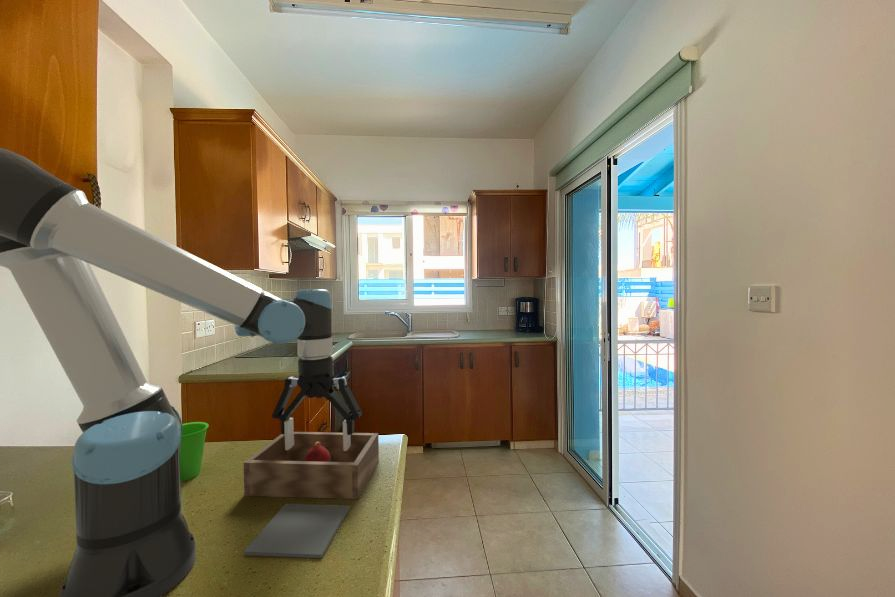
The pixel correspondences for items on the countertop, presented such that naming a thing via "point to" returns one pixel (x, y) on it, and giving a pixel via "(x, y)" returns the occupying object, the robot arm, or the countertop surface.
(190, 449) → the cup
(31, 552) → the countertop surface
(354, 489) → the box
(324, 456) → the onion
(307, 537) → the mat
